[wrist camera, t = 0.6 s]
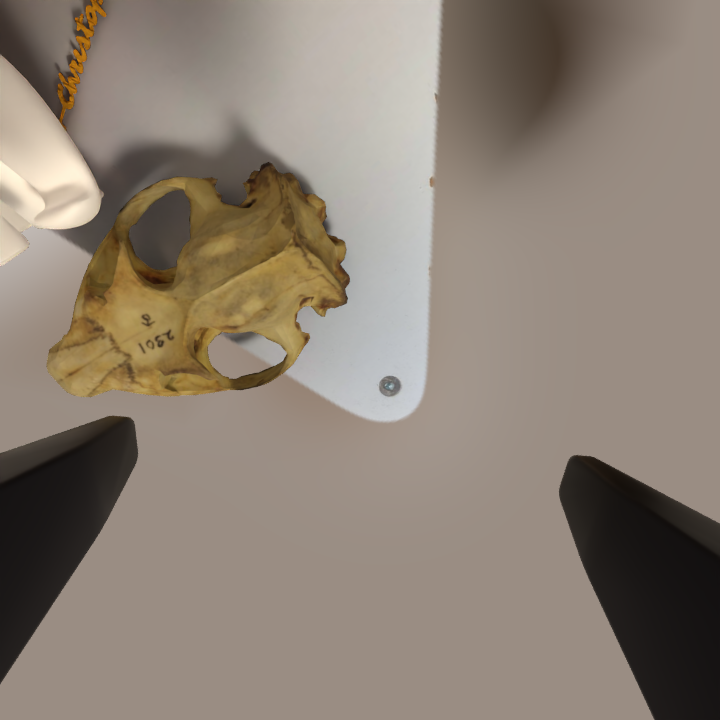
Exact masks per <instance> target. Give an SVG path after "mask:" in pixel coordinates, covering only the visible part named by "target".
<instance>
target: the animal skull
mask: <svg viewBox="0 0 720 720" xmlns="http://www.w3.org/2000/svg"><path fill="white" fill-rule="evenodd" d="M216 182H217V179H215V178H212V177H211V178H202V179H199V178H193V177H174V178H171V179H166V180H161V181H159V182H157V183H155V184H153V185H151V186H149V187H147V188H145V189H144V190H142V191H140V192H139V193H137V194H136V195H135V196H134V197H133V198H132V199H131V200H129V201H128V202H127V204H126V205H125V206H124V207H123V208H122V209H121V210H120V212H119V214H118V216H117V218H116V221H115V223H114V226H113V227H112V229H111V230H110V231H109V233H108V234H107V235H106V237H105V238H104V240H103V241H102V243H101V244H100V246H99V247H98V249H97V250H96V252H95V253H94V255H93V257H92V259H91V262H90V263H89V265H88V268H87V270H86V273H85V275H84V277H83V280H82V284H81V286H80V289H79V293H78V296H77V299H76V302H75V307H74V312H73V318H72V323H71V327H70V330H69V332H68V334H67V335H64V336H63V338H62V340H61V341H59V342H58V343H57V344H55V345H54V346H53V347H52V348H51V349H50V350H49V354H48V360H47V369H48V373H49V374H50V375H51V376H52V377H53V378H54V379H55V380H56V381H57V383H58V384H59V385H60V386H61V387H62V388H63V389H64V390H65V391H66V392H67V393H70V394H72V395H74V396H80V397H92V396H95V395H98V394H101V393H103V392H107V391H109V390H112V389H115V390H121V391H127V392H133V393H139V394H146V395H157V396H180V395H198V394H206V393H213V392H219V391H225V390H244V389H249V388H253V387H258V386H261V385H264V384H267V383H269V382H271V381H272V380H274V379H275V378H277V377H278V376H279V375H281V374H283V373H284V372H285V371H286V370H287V369H288V368H290V367H291V366H292V365H293V364H294V362H295V361H296V359H297V357H298V356H299V354H300V352H301V351H302V349H303V347H304V346H305V345H306V344H307V343H308V341H309V339H310V335H309V333H305V332H302V331H301V328H300V324H299V323H298V322H296V318H297V313H298V311H299V310H300V309H301V308H302V307H305V306H311V307H312V308H313V309H314V310H315V311H316V312H317V314H319V315H320V316H324V317H325V314H326V311H327V309H329V308H336V307H339V306H342V305H344V304H346V303H347V299H348V298H347V296H346V292H345V288H346V287H347V285H348V284H349V282H350V278H349V275H348V274H347V273H346V271H345V270H344V269H343V268H342V266H341V265H340V263H341V262H342V261H343V260H344V258H345V254H346V246H345V242H344V241H343V240H341V239H338V238H337V237H335V236H331V235H328V234H327V233H326V231H325V229H324V227H323V225H322V223H323V221H324V220H325V219H326V217H327V215H326V212H325V210H326V205H325V202H324V201H323V200H322V199H320V198H319V197H318V196H316V195H315V194H303V192H302V189H301V187H300V184H299V182H298V180H297V179H296V178H295V176H294V175H293V174H291V173H286V174H282V173H280V172H278V171H277V169H276V168H275V167H274V166H273V164H272V163H270V162H267V163H265V164H263V165H261V168H260V171H255V170H254V171H253V172H252V173H251V175H250V177H249V179H248V180H247V181H246V182H243V185H244V187H245V190H246V192H247V199H246V200H245V201H244V202H243V203H242V204H241V205H240V206H237V205H228V204H226V203H223V202H221V197H222V195H221V194H219V193H218V192H216V189H215V186H214V185H216ZM175 190H184V191H185V195H186V196H187V198H188V199H189V203H190V218H189V221H190V225H191V228H190V240H189V241H188V242H187V243H186V244H185V245H184V246H183V248H182V250H181V252H180V254H179V257H178V259H177V266H176V267H172V268H169V269H166V270H157V269H152V268H150V267H148V266H147V265H146V264H145V263H144V262H143V261H141V260H140V259H139V258H138V257H137V256H136V255H135V252H134V250H133V247H132V244H131V242H130V239H129V229H130V227H131V226H132V225H134V224H136V223H137V222H138V220H139V219H140V217H141V216H142V215H143V214H144V212H145V211H146V210H147V209H148V208H149V207H150V206H151V205H152V204H153V203H155V202H156V201H157V200H158V199H160V198H162V197H163V196H164V195H166V194H167V193H168V192H171V191H175ZM249 331H253V332H255V333H257V334H260V335H263V336H265V337H266V338H267V339H269V340H271V341H273V342H276V343H278V344H280V345H281V346H282V348H283V349H284V350H285V351H286V352H287V355H286V356H285V358H284V360H283V361H282V362H281V363H279V364H277V365H276V366H273V367H270V368H268V369H266V370H263V371H261V372H259V373H253V374H249V375H245V376H241V377H239V378H237V379H229V378H228V377H225V376H222V375H221V374H220V373H219V372H218V371H217V370H216V369H215V368H213V367H212V365H211V363H210V361H209V357H208V345H209V344H210V343H211V341H212V340H213V339H214V338H215V337H216V336H217V335H219V334H221V333H222V332H224V333H240V332H249Z"/></svg>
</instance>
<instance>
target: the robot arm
mask: <svg viewBox="0 0 720 720" xmlns="http://www.w3.org/2000/svg"><path fill="white" fill-rule="evenodd" d="M137 457H138V448H137V440H136V431H135V424H134V421H133V420H132V419H131V418H129V417H121V416H108V417H105V418H102V419H99V420H96V421H93V422H91V423H87V424H85V425H82V426H79V427H76V428H73V429H70V430H67V431H64V432H61V433H58V434H55V435H52V436H49V437H47V438H44V439H41V440H38V441H35V442H32V443H30V444H26V445H24V446H20V447H17V448H14V449H12V450H9V451H6V452H3V453H0V684H1V682H2V681H3V679H4V678H5V676H6V674H7V673H8V671H9V670H10V668H11V667H12V665H13V664H14V662H15V661H16V659H17V658H18V656H19V654H20V653H21V652H22V650H23V649H24V647H25V646H26V644H27V642H28V641H29V640H30V638H31V637H32V635H33V633H34V632H35V630H36V629H37V627H38V626H39V624H40V623H41V621H42V620H43V618H44V617H45V615H46V614H47V612H48V611H49V609H50V608H51V606H52V605H53V603H54V602H55V600H56V599H57V597H58V595H59V594H60V592H61V591H62V589H63V588H64V586H65V585H66V583H67V582H68V580H69V579H70V577H71V576H72V574H73V573H74V571H75V570H76V568H77V567H78V565H79V563H80V562H81V561H82V559H83V558H84V556H85V554H86V553H87V551H88V550H89V548H90V547H91V545H92V544H93V542H94V541H95V539H96V537H97V536H98V534H99V533H100V531H101V529H102V528H103V526H104V524H105V522H106V521H107V519H108V517H109V515H110V513H111V511H112V509H113V507H114V505H115V503H116V501H117V499H118V497H119V496H120V493H121V492H122V490H123V488H124V486H125V484H126V482H127V480H128V478H129V476H130V474H131V472H132V470H133V468H134V466H135V464H136V461H137ZM559 496H560V501H561V503H562V506H563V510H564V512H565V515H566V518H567V521H568V524H569V527H570V530H571V533H572V535H573V538H574V541H575V544H576V547H577V550H578V553H579V556H580V558H581V561H582V563H583V566H584V568H585V570H586V573H587V575H588V578H589V580H590V582H591V584H592V586H593V589H594V591H595V593H596V595H597V597H598V599H599V602H600V604H601V606H602V608H603V610H604V612H605V614H606V617H607V619H608V621H609V623H610V625H611V627H612V629H613V632H614V633H615V636H616V638H617V640H618V642H619V644H620V647H621V649H622V651H623V653H624V655H625V657H626V660H627V662H628V664H629V666H630V668H631V670H632V672H633V675H634V677H635V679H636V681H637V683H638V685H639V688H640V690H641V692H642V694H643V696H644V698H645V700H646V703H647V705H648V707H649V709H650V711H651V713H652V716H653V718H654V719H655V720H720V523H718V522H716V521H714V520H712V519H710V518H708V517H706V516H704V515H702V514H700V513H699V512H697V511H695V510H693V509H691V508H689V507H687V506H685V505H683V504H682V503H680V502H678V501H676V500H674V499H672V498H670V497H668V496H666V495H665V494H663V493H661V492H659V491H657V490H655V489H653V488H651V487H649V486H647V485H646V484H644V483H642V482H640V481H638V480H636V479H634V478H632V477H630V476H629V475H627V474H625V473H623V472H621V471H619V470H617V469H615V468H613V467H612V466H610V465H608V464H606V463H604V462H602V461H600V460H598V459H596V458H594V457H591V456H578V455H574V456H572V457H571V458H570V459H569V461H568V463H567V466H566V469H565V473H564V475H563V478H562V481H561V485H560V489H559Z"/></svg>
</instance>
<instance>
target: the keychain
mask: <svg viewBox="0 0 720 720" xmlns="http://www.w3.org/2000/svg"><path fill="white" fill-rule="evenodd" d="M90 1H91V3H92V6H90V5H87V6H86V17H87V20H88V24H89V27H90V28H89V29H87V28H86V27H85V26H84V25H83V23H82V22H83V18H84V15H83V14H82V13H81V15H80V17H79V19H78V18H77V17H76V18H75V21H76V23H77V30H78V31H80V30H82V31H83V32H84V35H85V37H84V36H81V37H79V36H76V40H77V42H78V43H79V45H80V49H81V52H82V55H81V54H80V53H79V51H78V50H77V49H74V50H73V53H74V55H75V57H76V58H77V61H78V64H77V62H76V61H75V60H72V61H71V64H69V66H70V70H71V72H72V73H73V75H74V76H75V77H71V76H69V77H68V82H69V83H68V82H67V81H66V79H65V78H64V76H63V75H62V73H59V75H58V76H59V78H60V80H61V81H62V82H63V85H64V86H65V87H66V88H67V89H68V90H69V93H70V96H69V101H66V99H65V98H64V95H63V89H64V87H63V85H62V84H60V83H59V84H58V90H57V92H58V96H59V99H60V102H61V103H62V105H63V107H62V111H61V115H60V118H59V122H60V123H61V125H62V126H63V127H64V129H65V130H66V127H65V126H64V125H63V124H62V120H63V117H64V113H65V109H71V108H72V107H73V105H74V95H73V93H74V94H75V93H77V88H76V86H75V84H79V83H80V78H79V76H78V74H77V72H76V70H77V71H78V73H80V74H81V73H83V64H82V62H84V61H86V60H87V55H86V52H85V49H86V50H88V49H89V48H90V44H91V43H90V38H89V37H92V36H93V35H94V28H93V26H95V25H96V24H97V16H96V13H95V12H96V11H98V13H99V14H100V15H101V16H103V17H106V13H105V12H104V11H103V9H102V8H101V7H100V6H99V5H98V3H97V0H90ZM98 2H99V4H100V5H102V3H103V0H98ZM89 12H91V14H92V18H91V17H90V14H89ZM82 43H85V44H84V47H85V49H84V47H83V45H82ZM75 69H76V70H75Z"/></svg>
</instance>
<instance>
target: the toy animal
mask: <svg viewBox="0 0 720 720" xmlns="http://www.w3.org/2000/svg"><path fill="white" fill-rule="evenodd" d="M103 196H104V193H103V192H102V191H101V190H99V187H98V185H97V183H96V180H95V178H94V176H93V174H92V172H91V170H90V168H89V167H88V165H87V163H86V161H85V160H84V158H83V156H82V155H81V153H80V151H79V150H78V148H77V147H76V145H75V144H74V142H73V141H72V139H71V138H70V136H69V135H68V133H67V132H66V130H65V129H64V127H63V126H62V125H61V123H60V122H59V120H58V119H57V117H56V116H55V115H54V113H53V112H52V111H51V109H50V108H49V107H48V105H47V104H46V103H45V102H44V100H43V99H42V98H41V96H40V95H39V94H38V93H37V91H36V90H35V89H34V88H33V87H32V86H31V84H30V83H29V82H28V81H27V80H26V79H25V78H24V77H23V76H22V74H21V73H20V72H19V71H18V70H17V69H16V68H15V67H14V66H13V65H12V64H11V63H9V62H8V61H7V60H6V59H5V58H4V57H3V56H2V55H1V54H0V267H1V266H2V265H4V264H5V263H7V262H8V261H10V260H11V259H13V258H14V257H16V256H17V255H19V254H20V253H22V252H23V251H25V250H26V249H27V248H28V247H29V242H28V240H27V239H26V238H25V237H24V236H23V235H22V234H21V232H23V231H24V230H26V229H27V228H29V227H31V226H32V225H33V226H34V227H36V228H38V229H43V228H47V229H69V228H74V227H78V226H81V225H84V224H86V223H88V222H89V221H91V220H92V219H93V218H94V217H95V216H96V215H97V214H98V212H99V210H100V205H101V198H102V197H103Z"/></svg>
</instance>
